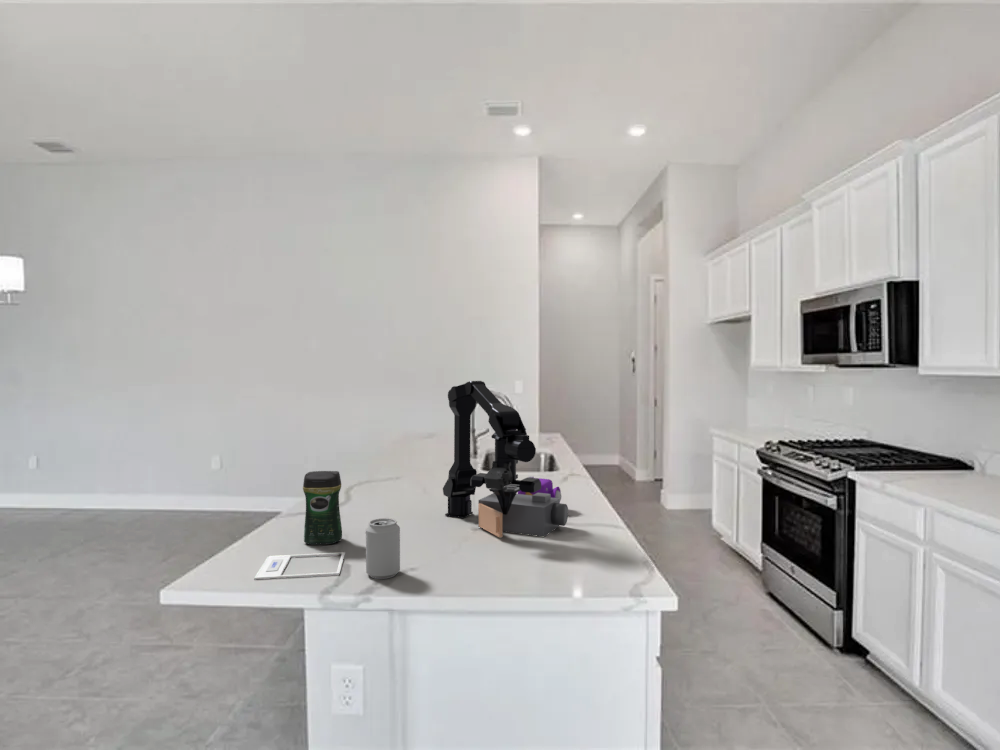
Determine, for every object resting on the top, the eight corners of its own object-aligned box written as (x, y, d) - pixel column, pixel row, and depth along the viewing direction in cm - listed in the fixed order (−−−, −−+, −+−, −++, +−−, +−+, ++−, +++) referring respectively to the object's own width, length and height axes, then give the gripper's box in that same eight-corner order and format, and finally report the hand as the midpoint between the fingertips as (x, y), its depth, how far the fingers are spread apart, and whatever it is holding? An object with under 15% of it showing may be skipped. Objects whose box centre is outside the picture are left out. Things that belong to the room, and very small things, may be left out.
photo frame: (268, 555, 148) (344, 551, 151) (268, 559, 148) (344, 555, 151) (254, 576, 133) (339, 572, 136) (254, 581, 133) (339, 577, 136)
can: (368, 568, 140) (368, 516, 140) (401, 567, 141) (401, 516, 141) (363, 580, 133) (363, 525, 132) (398, 579, 133) (398, 525, 133)
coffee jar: (344, 536, 165) (343, 468, 165) (338, 545, 158) (338, 473, 157) (307, 537, 165) (307, 468, 164) (300, 546, 157) (299, 474, 156)
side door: (475, 526, 172) (475, 503, 172) (481, 525, 173) (481, 503, 173) (497, 537, 162) (497, 513, 161) (502, 537, 162) (502, 513, 162)
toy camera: (559, 515, 188) (560, 483, 188) (516, 513, 191) (516, 481, 190) (563, 507, 199) (563, 476, 198) (521, 504, 201) (521, 474, 201)
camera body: (478, 527, 174) (478, 494, 173) (496, 518, 185) (497, 486, 184) (554, 538, 164) (554, 503, 164) (569, 527, 175) (569, 494, 174)
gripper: (460, 458, 161) (460, 517, 162) (525, 464, 153) (525, 526, 153) (479, 452, 171) (479, 508, 172) (542, 457, 163) (541, 515, 164)
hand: (505, 514), depth 165 cm, fingers closed
